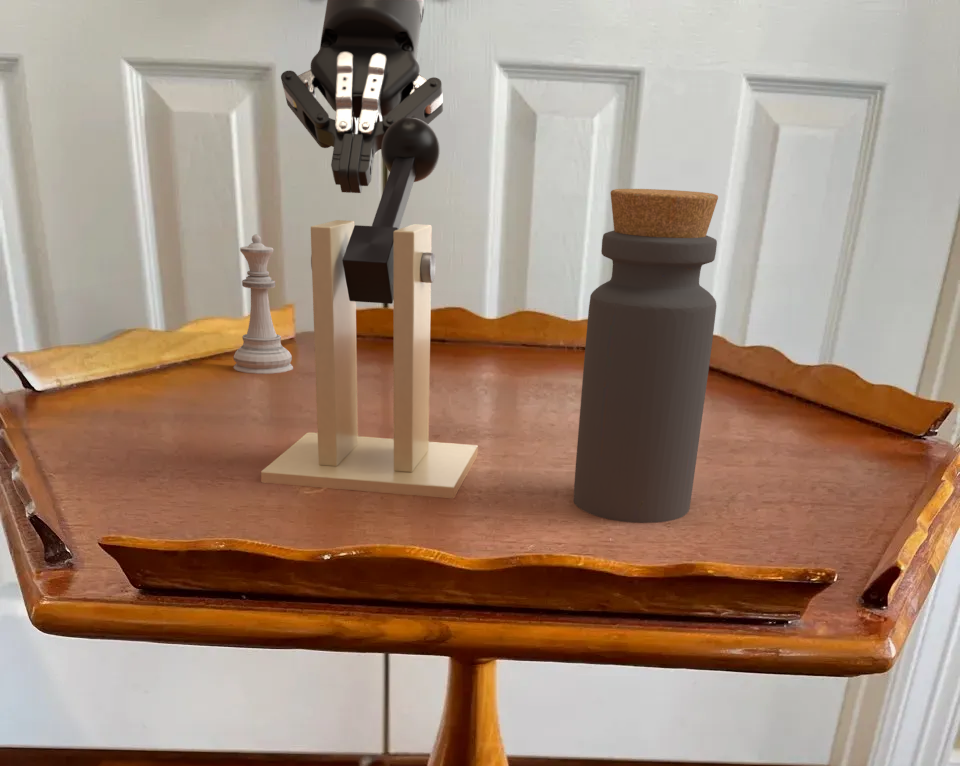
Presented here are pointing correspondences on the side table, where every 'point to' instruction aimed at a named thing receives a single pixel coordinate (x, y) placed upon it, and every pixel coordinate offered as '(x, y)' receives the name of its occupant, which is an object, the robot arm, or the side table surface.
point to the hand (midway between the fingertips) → (349, 184)
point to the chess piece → (260, 319)
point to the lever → (389, 211)
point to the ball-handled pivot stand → (337, 446)
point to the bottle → (647, 359)
